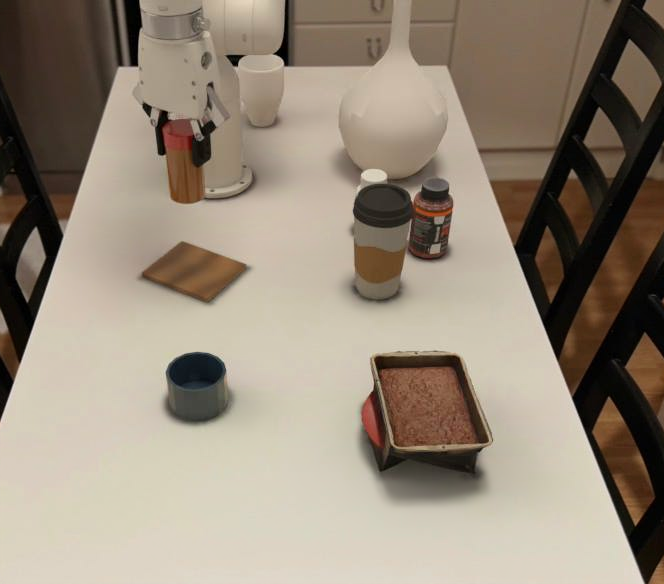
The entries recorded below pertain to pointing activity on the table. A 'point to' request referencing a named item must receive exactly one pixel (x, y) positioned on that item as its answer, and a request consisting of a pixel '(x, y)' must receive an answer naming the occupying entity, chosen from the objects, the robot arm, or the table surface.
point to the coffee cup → (380, 238)
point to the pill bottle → (371, 179)
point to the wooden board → (194, 271)
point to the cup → (197, 385)
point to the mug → (261, 87)
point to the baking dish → (424, 411)
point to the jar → (182, 163)
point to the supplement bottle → (431, 219)
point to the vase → (393, 109)
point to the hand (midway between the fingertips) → (184, 156)
